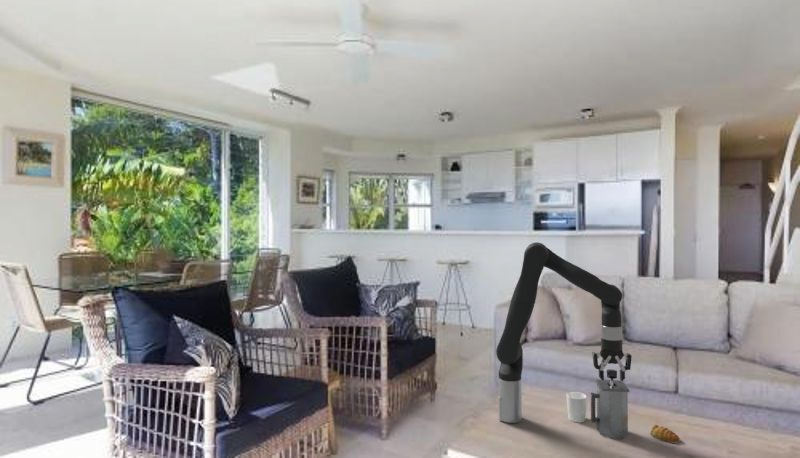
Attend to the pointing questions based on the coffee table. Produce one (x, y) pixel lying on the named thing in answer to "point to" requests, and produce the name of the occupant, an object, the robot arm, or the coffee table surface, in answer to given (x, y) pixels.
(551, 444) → the coffee table surface
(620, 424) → the square french press
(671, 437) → the pastry
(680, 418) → the coffee table surface
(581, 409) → the white cup
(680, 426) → the coffee table surface
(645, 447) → the coffee table surface
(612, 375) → the plunger
